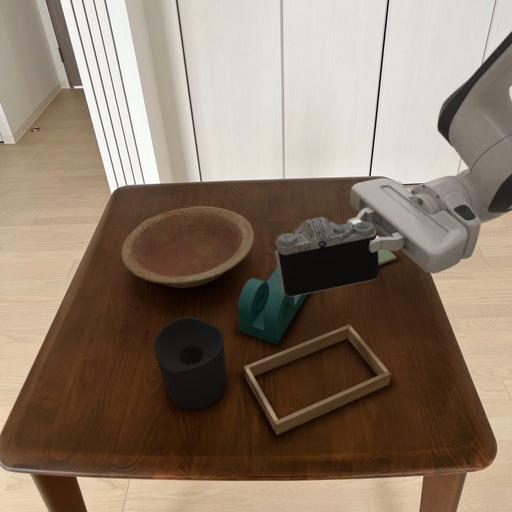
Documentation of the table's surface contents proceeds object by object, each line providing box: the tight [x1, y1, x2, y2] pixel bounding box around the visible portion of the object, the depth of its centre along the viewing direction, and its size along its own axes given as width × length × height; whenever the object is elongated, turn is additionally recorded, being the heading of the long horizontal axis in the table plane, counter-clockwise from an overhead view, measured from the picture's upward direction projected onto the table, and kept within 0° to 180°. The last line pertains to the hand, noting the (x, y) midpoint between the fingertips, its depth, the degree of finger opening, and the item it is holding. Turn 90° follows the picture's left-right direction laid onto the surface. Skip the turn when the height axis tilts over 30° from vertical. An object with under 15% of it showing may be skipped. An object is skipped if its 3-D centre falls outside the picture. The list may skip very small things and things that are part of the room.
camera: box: [274, 216, 380, 297], centre depth 75 cm, size 15×7×10 cm, turn 99°
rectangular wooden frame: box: [243, 324, 392, 436], centre depth 74 cm, size 11×18×2 cm, turn 115°
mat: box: [378, 250, 397, 266], centre depth 97 cm, size 10×10×1 cm
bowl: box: [120, 205, 255, 289], centre depth 93 cm, size 24×24×8 cm
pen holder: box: [153, 316, 227, 411], centre depth 72 cm, size 9×9×10 cm
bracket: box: [237, 266, 308, 345], centre depth 85 cm, size 18×7×8 cm, turn 153°
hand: (358, 236), depth 73 cm, fingers closed on camera, 3 cm apart
